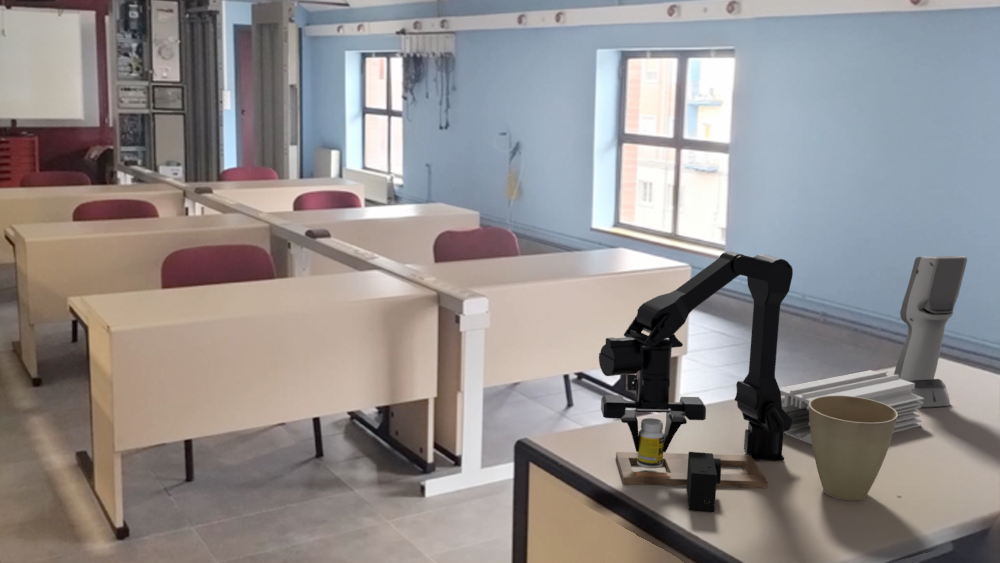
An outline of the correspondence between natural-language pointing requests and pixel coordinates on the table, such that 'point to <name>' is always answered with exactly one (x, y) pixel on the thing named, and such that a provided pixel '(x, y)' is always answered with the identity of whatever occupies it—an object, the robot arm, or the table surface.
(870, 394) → the aluminum extrusion profile
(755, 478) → the jack panel
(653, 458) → the supplement bottle
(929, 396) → the thermal camera
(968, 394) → the table surface
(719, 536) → the table surface
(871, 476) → the plant pot
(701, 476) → the digital camera
